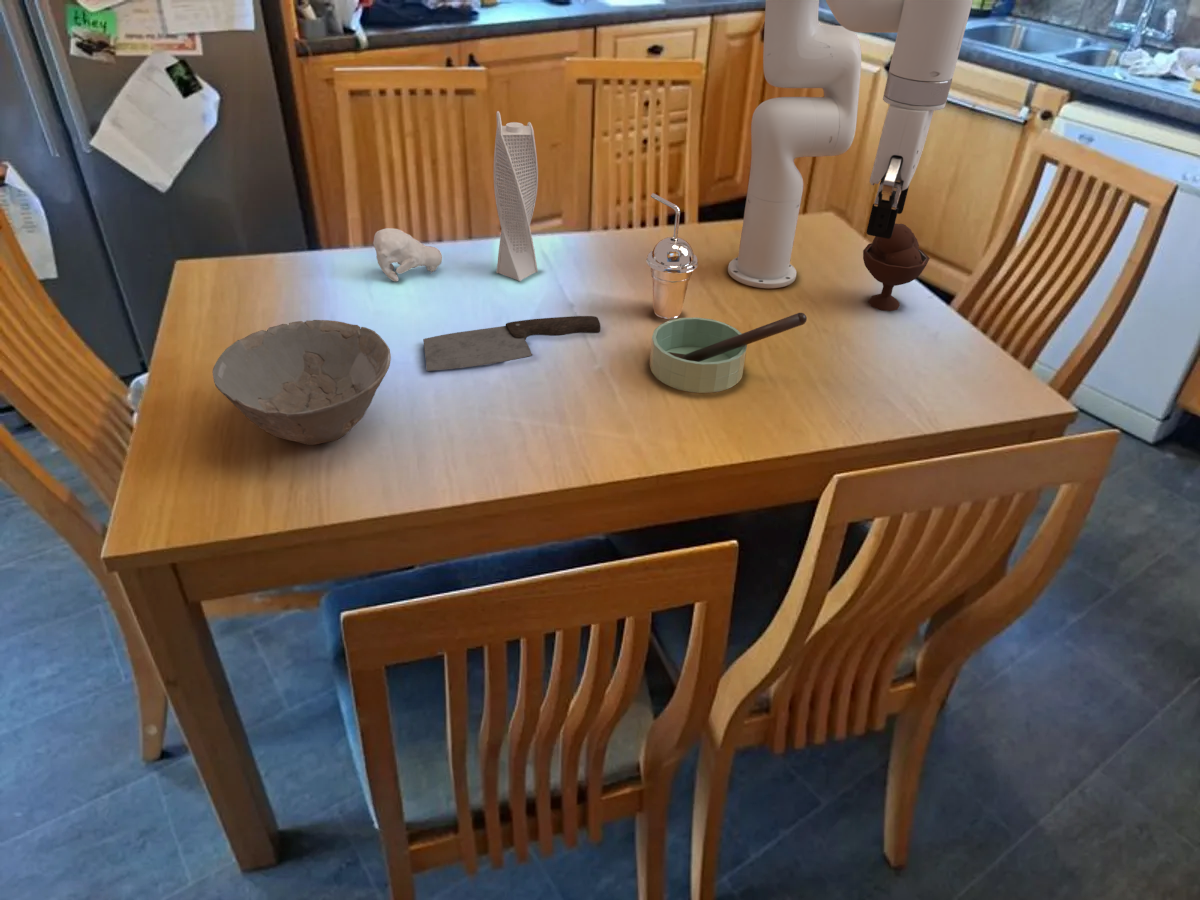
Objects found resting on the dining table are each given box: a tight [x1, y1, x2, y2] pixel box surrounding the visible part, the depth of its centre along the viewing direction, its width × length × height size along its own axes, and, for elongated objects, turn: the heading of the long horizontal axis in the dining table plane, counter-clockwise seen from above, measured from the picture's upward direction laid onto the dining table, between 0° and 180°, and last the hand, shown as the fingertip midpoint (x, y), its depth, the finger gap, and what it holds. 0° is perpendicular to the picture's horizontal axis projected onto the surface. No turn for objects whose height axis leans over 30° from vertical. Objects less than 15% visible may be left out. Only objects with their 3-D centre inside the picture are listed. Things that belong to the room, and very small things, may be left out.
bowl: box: [649, 316, 748, 394], centre depth 135 cm, size 14×14×6 cm
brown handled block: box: [668, 312, 808, 362], centre depth 132 cm, size 21×4×11 cm, turn 79°
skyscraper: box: [493, 110, 539, 282], centre depth 154 cm, size 8×8×28 cm
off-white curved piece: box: [372, 227, 443, 283], centre depth 157 cm, size 6×8×12 cm
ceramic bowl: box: [212, 319, 392, 446], centre depth 118 cm, size 22×23×10 cm
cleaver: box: [422, 315, 601, 372], centre depth 140 cm, size 30×10×2 cm, turn 110°
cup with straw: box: [645, 192, 699, 320], centre depth 145 cm, size 8×9×20 cm
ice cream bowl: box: [862, 223, 930, 312], centre depth 153 cm, size 11×11×15 cm
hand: (884, 223), depth 119 cm, fingers open, 9 cm apart
